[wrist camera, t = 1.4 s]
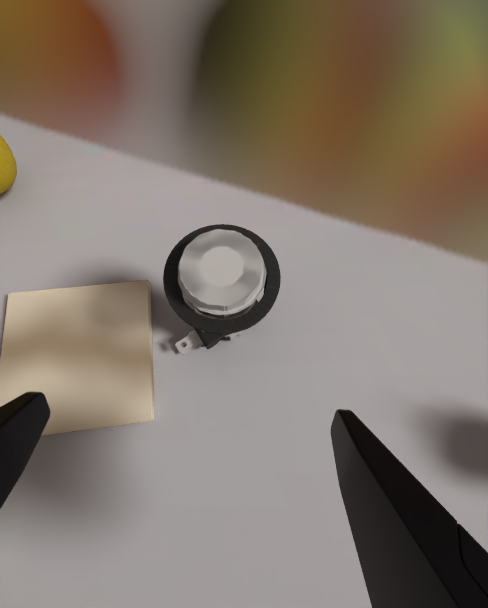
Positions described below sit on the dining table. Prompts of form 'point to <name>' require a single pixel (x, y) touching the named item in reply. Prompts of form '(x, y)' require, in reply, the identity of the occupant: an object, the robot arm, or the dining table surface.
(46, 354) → the birch pad
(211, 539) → the dining table surface
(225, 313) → the push button
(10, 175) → the lemon
